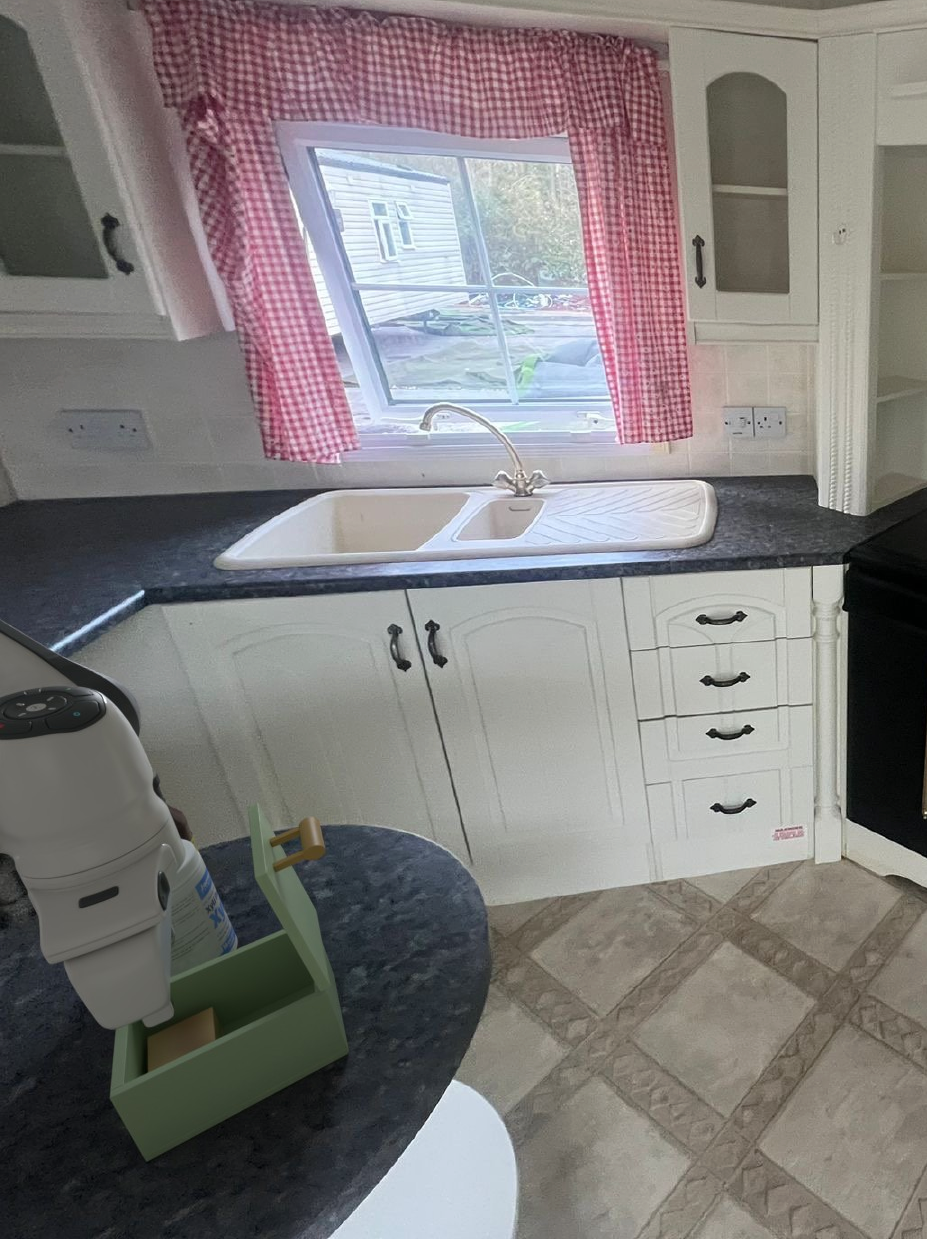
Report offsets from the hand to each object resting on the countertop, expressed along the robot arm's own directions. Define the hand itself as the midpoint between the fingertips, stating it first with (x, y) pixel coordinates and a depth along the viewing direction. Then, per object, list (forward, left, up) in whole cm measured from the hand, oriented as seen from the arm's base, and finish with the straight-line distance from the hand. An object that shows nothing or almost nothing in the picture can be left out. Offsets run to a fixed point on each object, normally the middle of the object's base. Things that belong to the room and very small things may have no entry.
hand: (162, 979), depth 68 cm
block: (0, 0, -12) cm, 12 cm away
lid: (+9, -1, +4) cm, 10 cm away
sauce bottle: (-2, +26, -13) cm, 29 cm away
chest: (+3, -1, -13) cm, 13 cm away
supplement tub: (-2, +16, -13) cm, 20 cm away
